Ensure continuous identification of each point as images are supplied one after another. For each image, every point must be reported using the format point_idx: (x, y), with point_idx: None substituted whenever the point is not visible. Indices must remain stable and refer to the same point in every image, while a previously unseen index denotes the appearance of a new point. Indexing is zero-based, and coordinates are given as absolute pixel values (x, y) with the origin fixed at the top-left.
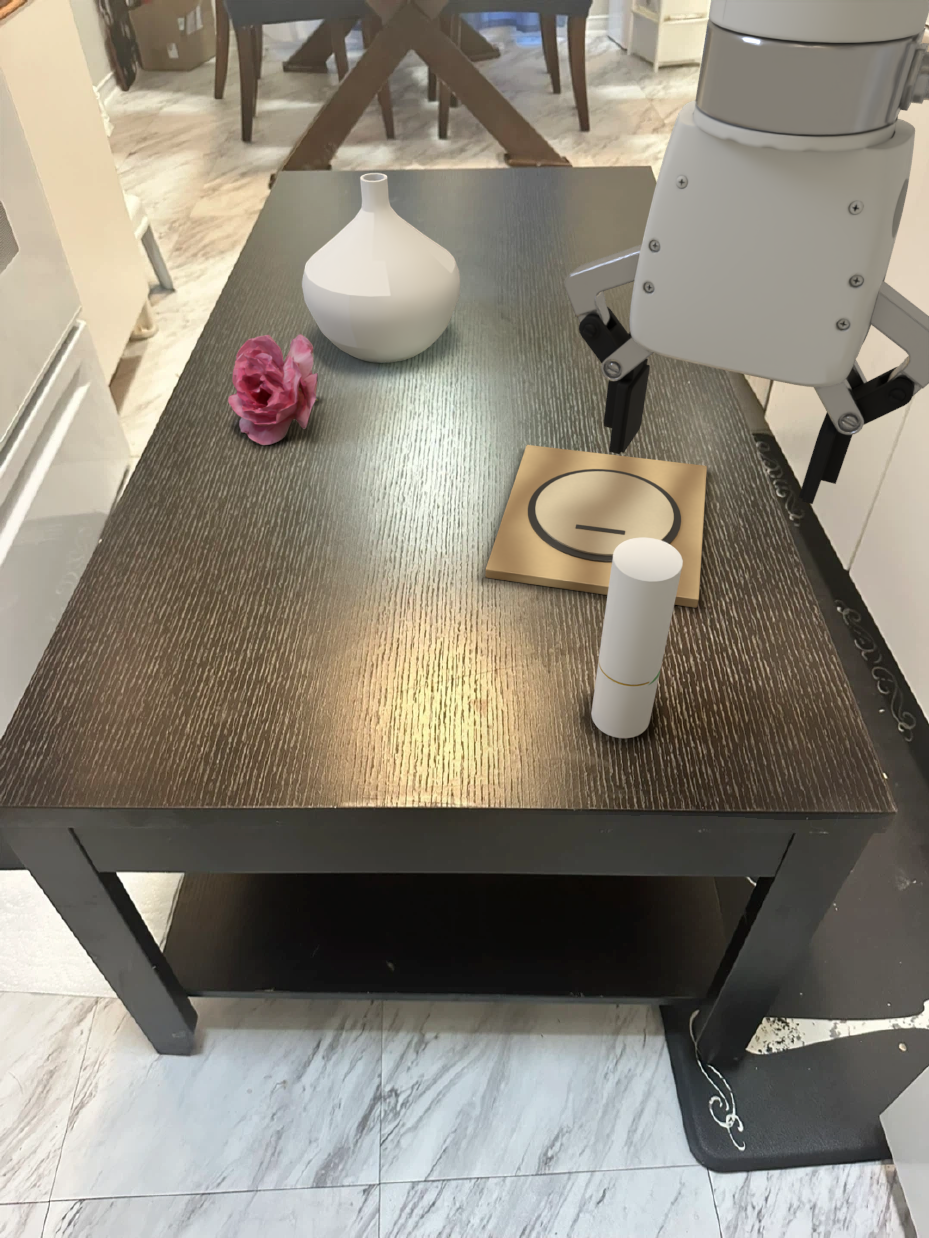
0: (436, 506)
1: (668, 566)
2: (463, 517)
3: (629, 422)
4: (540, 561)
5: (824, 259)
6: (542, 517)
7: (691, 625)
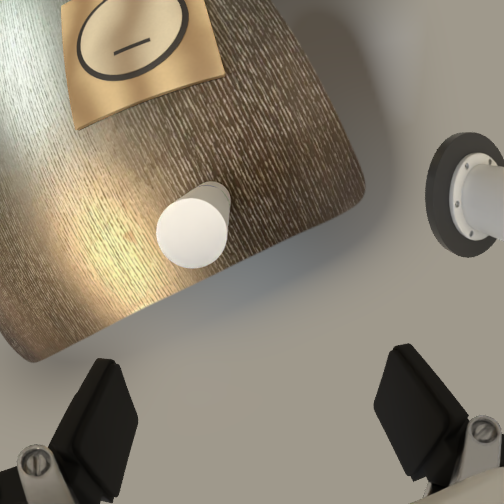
0: (29, 91)
1: (214, 236)
2: (46, 88)
3: (125, 444)
4: (103, 98)
5: None
6: (89, 60)
7: (227, 94)
